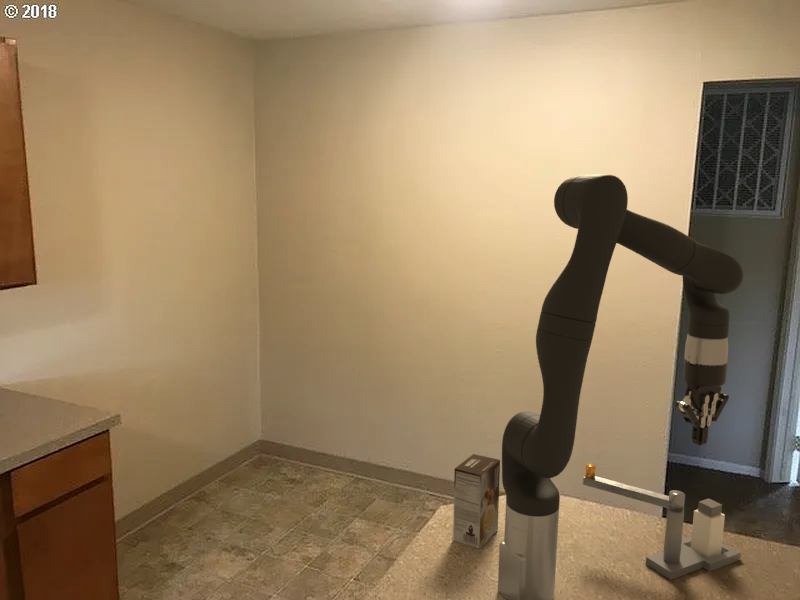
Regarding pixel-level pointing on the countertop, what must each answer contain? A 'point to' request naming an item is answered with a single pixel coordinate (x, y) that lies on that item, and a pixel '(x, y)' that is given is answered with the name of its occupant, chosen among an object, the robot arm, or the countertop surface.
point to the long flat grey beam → (634, 491)
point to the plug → (708, 528)
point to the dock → (685, 552)
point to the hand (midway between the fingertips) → (699, 443)
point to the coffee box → (476, 500)
